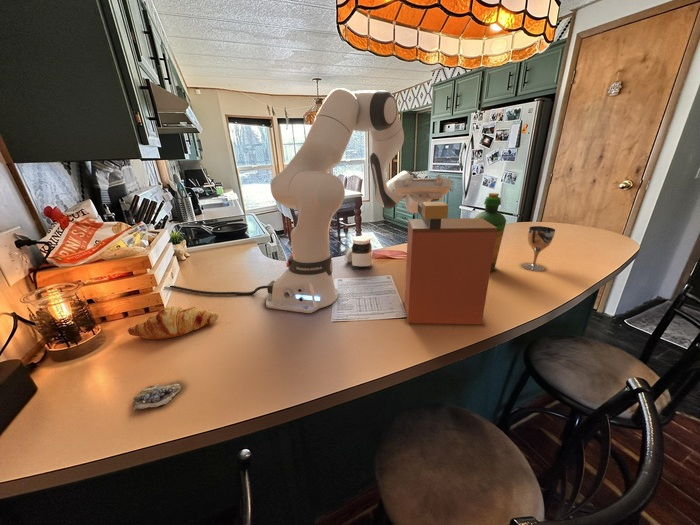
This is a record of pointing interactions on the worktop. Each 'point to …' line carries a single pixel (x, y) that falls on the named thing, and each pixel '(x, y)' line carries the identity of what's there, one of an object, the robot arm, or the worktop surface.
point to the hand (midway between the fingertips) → (425, 177)
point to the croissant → (172, 323)
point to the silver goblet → (539, 243)
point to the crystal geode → (156, 396)
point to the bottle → (494, 221)
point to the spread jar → (360, 253)
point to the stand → (448, 270)
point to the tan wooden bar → (433, 213)
